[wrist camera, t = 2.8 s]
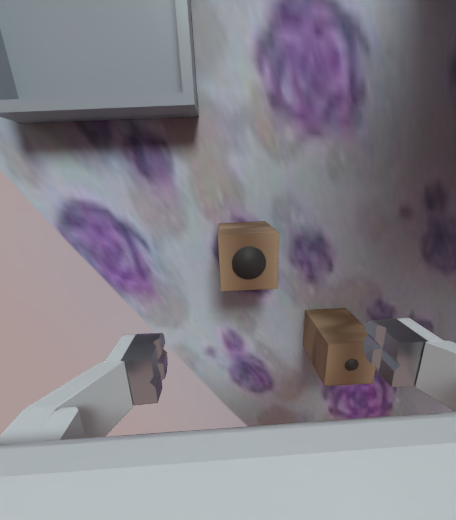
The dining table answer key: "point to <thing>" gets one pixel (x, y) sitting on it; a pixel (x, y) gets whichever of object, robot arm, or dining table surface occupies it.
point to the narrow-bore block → (337, 347)
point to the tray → (96, 60)
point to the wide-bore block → (248, 256)
